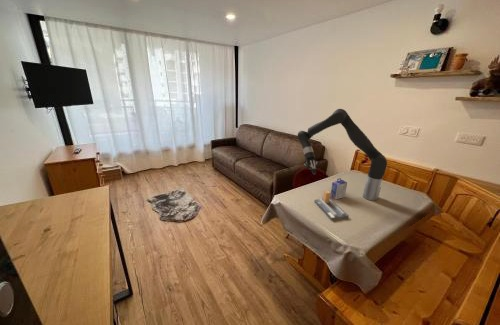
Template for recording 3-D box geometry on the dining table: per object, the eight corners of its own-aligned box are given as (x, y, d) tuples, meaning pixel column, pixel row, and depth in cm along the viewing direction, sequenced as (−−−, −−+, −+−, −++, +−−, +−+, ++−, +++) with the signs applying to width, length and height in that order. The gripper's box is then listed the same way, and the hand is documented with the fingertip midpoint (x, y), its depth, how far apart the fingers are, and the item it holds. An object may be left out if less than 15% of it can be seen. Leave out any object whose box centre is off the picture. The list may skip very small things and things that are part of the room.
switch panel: (329, 200, 147) (330, 196, 146) (348, 218, 128) (349, 213, 127) (314, 202, 145) (314, 198, 143) (331, 220, 126) (331, 215, 124)
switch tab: (326, 200, 143) (328, 190, 140) (328, 202, 140) (330, 192, 137) (322, 201, 142) (324, 191, 139) (324, 203, 139) (326, 193, 136)
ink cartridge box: (339, 193, 156) (342, 176, 151) (345, 197, 152) (348, 179, 146) (329, 196, 153) (332, 179, 147) (335, 199, 148) (338, 182, 143)
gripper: (302, 151, 155) (308, 173, 148) (318, 150, 158) (324, 171, 151) (299, 156, 162) (304, 176, 155) (314, 155, 164) (320, 174, 158)
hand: (314, 173), depth 153 cm, fingers closed
